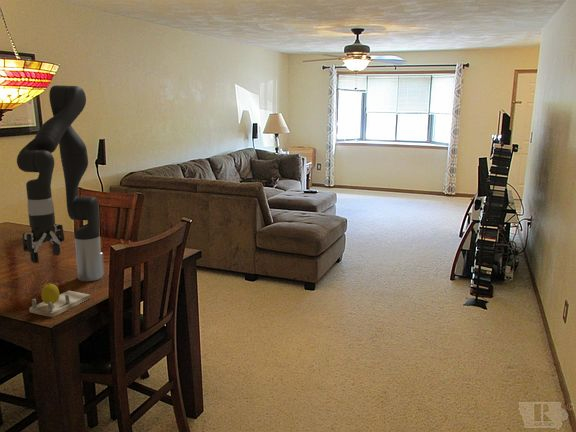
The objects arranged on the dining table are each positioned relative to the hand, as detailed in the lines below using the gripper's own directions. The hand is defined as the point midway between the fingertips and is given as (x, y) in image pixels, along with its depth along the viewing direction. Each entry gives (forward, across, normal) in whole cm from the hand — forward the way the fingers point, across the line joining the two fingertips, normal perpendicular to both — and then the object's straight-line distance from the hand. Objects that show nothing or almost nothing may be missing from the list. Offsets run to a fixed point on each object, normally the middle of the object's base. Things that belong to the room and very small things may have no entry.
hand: (46, 258), depth 159 cm
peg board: (+18, -4, 0) cm, 18 cm away
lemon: (+17, 0, 0) cm, 17 cm away
